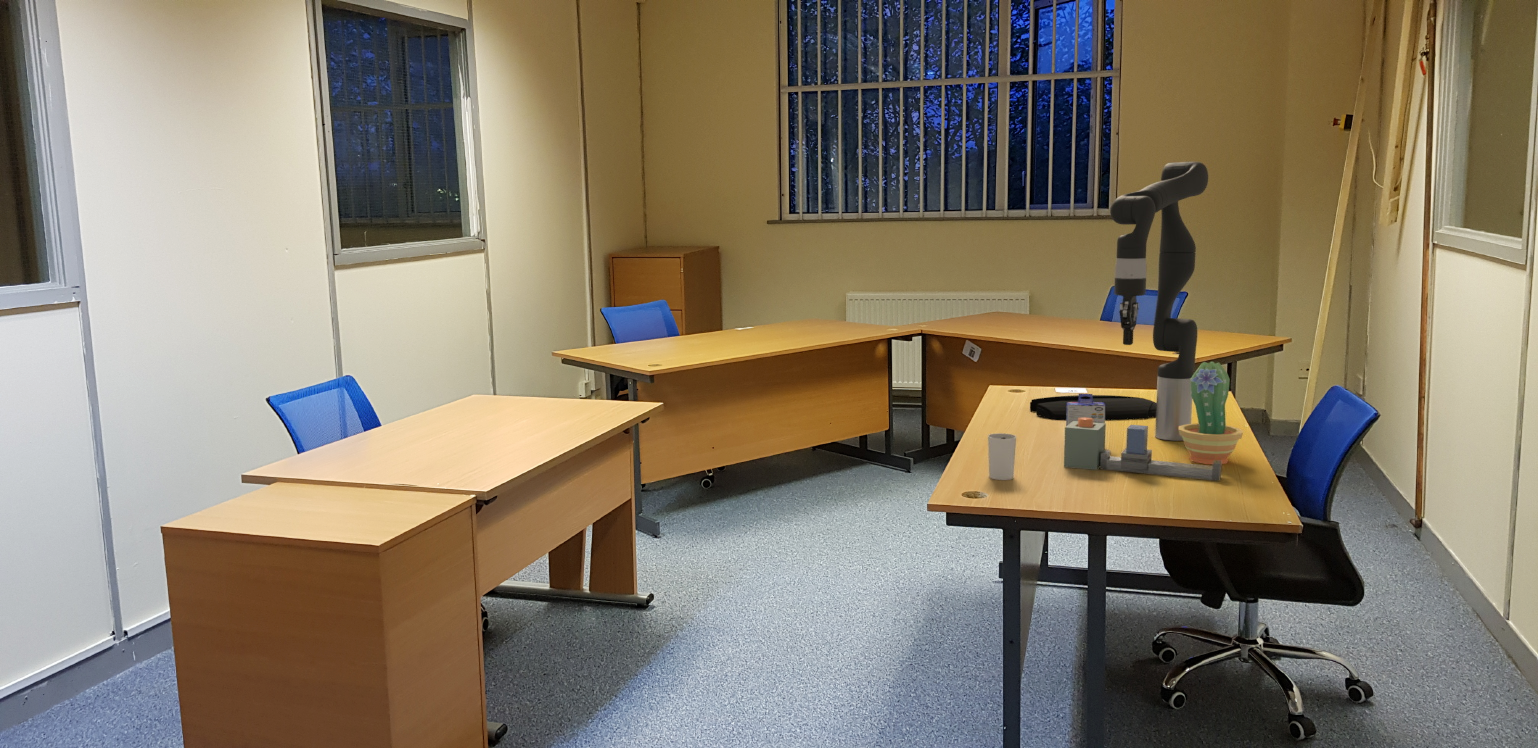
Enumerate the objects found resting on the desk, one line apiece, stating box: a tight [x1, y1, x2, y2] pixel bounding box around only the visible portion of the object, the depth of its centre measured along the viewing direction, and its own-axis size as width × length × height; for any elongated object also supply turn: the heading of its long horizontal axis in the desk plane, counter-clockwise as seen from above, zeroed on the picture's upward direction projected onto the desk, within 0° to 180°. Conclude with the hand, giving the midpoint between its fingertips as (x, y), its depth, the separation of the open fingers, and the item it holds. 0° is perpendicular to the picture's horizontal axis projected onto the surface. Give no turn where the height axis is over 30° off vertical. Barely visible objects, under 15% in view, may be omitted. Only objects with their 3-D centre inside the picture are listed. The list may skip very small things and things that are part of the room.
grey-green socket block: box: [1063, 421, 1107, 471], centre depth 264 cm, size 9×8×10 cm
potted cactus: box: [1179, 361, 1244, 465], centre depth 266 cm, size 15×15×25 cm
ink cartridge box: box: [1065, 393, 1106, 427], centre depth 282 cm, size 10×6×14 cm, turn 78°
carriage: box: [1120, 424, 1153, 472], centre depth 257 cm, size 7×6×10 cm
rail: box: [1099, 449, 1222, 482], centre depth 255 cm, size 4×27×4 cm, turn 61°
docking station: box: [1029, 394, 1157, 421], centre depth 332 cm, size 25×41×5 cm, turn 89°
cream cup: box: [987, 432, 1017, 481], centre depth 253 cm, size 7×7×10 cm
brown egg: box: [1078, 418, 1093, 428], centre depth 263 cm, size 4×4×6 cm
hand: (1127, 344), depth 269 cm, fingers closed
